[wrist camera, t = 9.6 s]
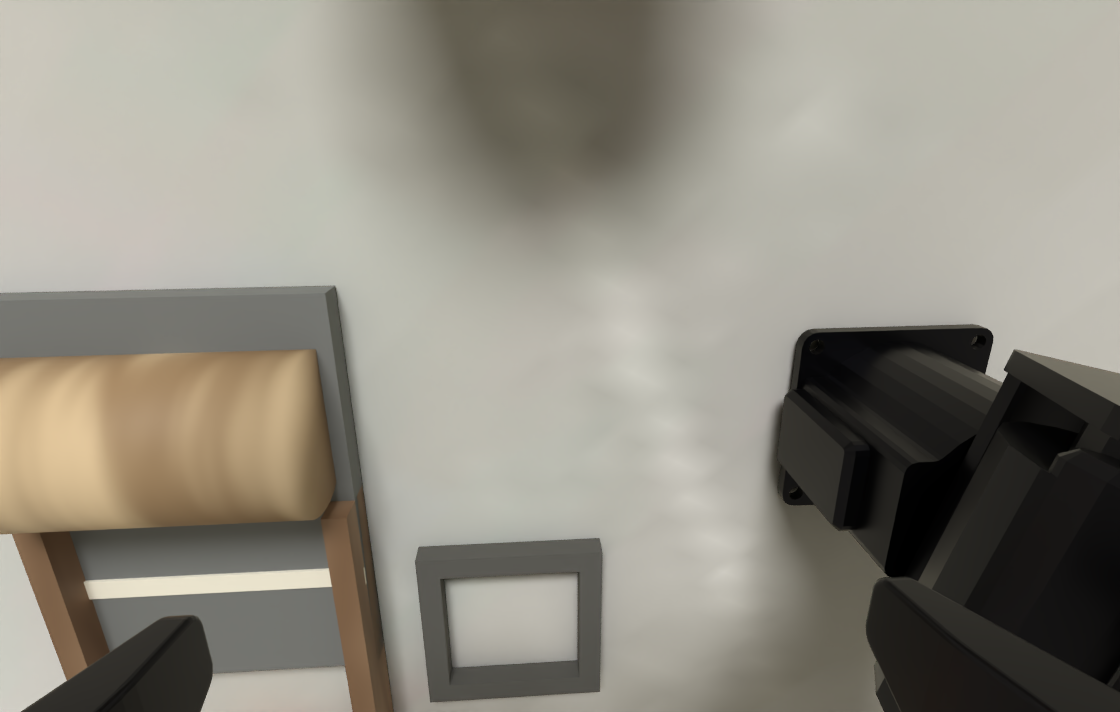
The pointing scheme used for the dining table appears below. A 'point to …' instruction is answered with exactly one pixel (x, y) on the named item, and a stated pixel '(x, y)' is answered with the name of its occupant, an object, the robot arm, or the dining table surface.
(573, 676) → the grey square frame
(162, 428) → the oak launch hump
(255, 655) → the runway mat
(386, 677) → the walnut lane
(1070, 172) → the dining table surface
